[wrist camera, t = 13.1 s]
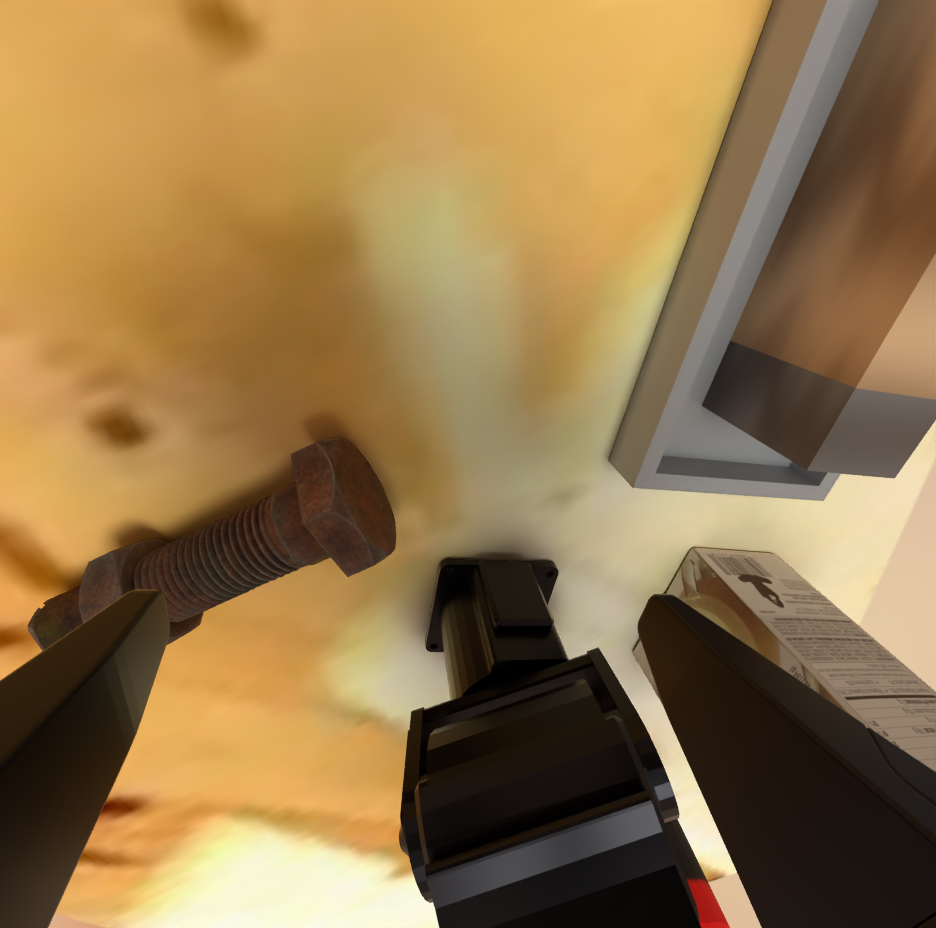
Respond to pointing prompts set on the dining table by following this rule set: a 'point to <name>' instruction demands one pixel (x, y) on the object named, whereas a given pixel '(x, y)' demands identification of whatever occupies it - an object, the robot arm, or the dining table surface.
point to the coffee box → (808, 642)
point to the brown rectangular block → (851, 274)
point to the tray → (738, 263)
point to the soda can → (696, 880)
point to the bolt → (243, 546)
